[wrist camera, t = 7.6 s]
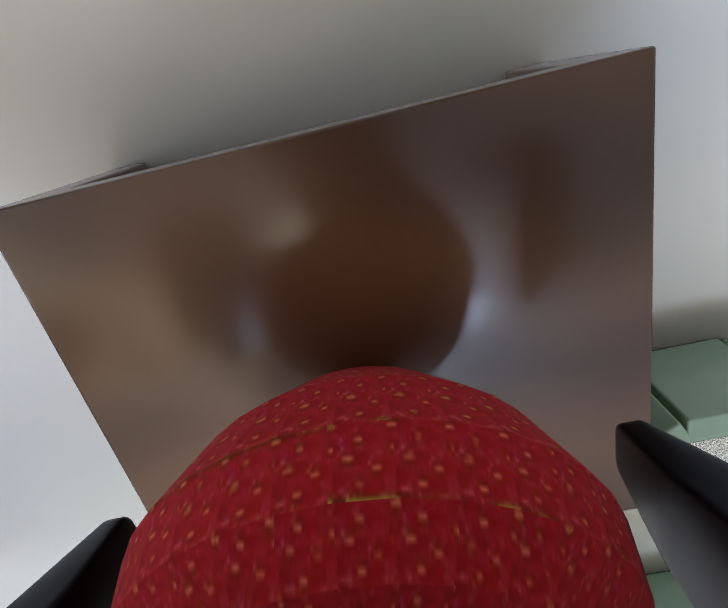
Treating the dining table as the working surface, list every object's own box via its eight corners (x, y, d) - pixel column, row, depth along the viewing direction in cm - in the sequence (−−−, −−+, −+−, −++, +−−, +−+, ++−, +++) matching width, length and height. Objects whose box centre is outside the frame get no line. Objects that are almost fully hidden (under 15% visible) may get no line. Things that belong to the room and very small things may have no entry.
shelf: (567, 388, 19) (650, 506, 14) (234, 453, 20) (188, 586, 15) (543, 61, 15) (656, 45, 9) (111, 170, 16) (-22, 213, 10)
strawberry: (524, 453, 13) (921, 1321, 4) (252, 494, 13) (30, 1354, 4) (512, 245, 11) (1482, 1228, 1) (182, 303, 11) (-648, 1323, 2)
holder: (809, 561, 24) (892, 648, 20) (522, 607, 25) (551, 697, 21) (862, 308, 18) (991, 363, 14) (489, 382, 19) (520, 451, 15)
